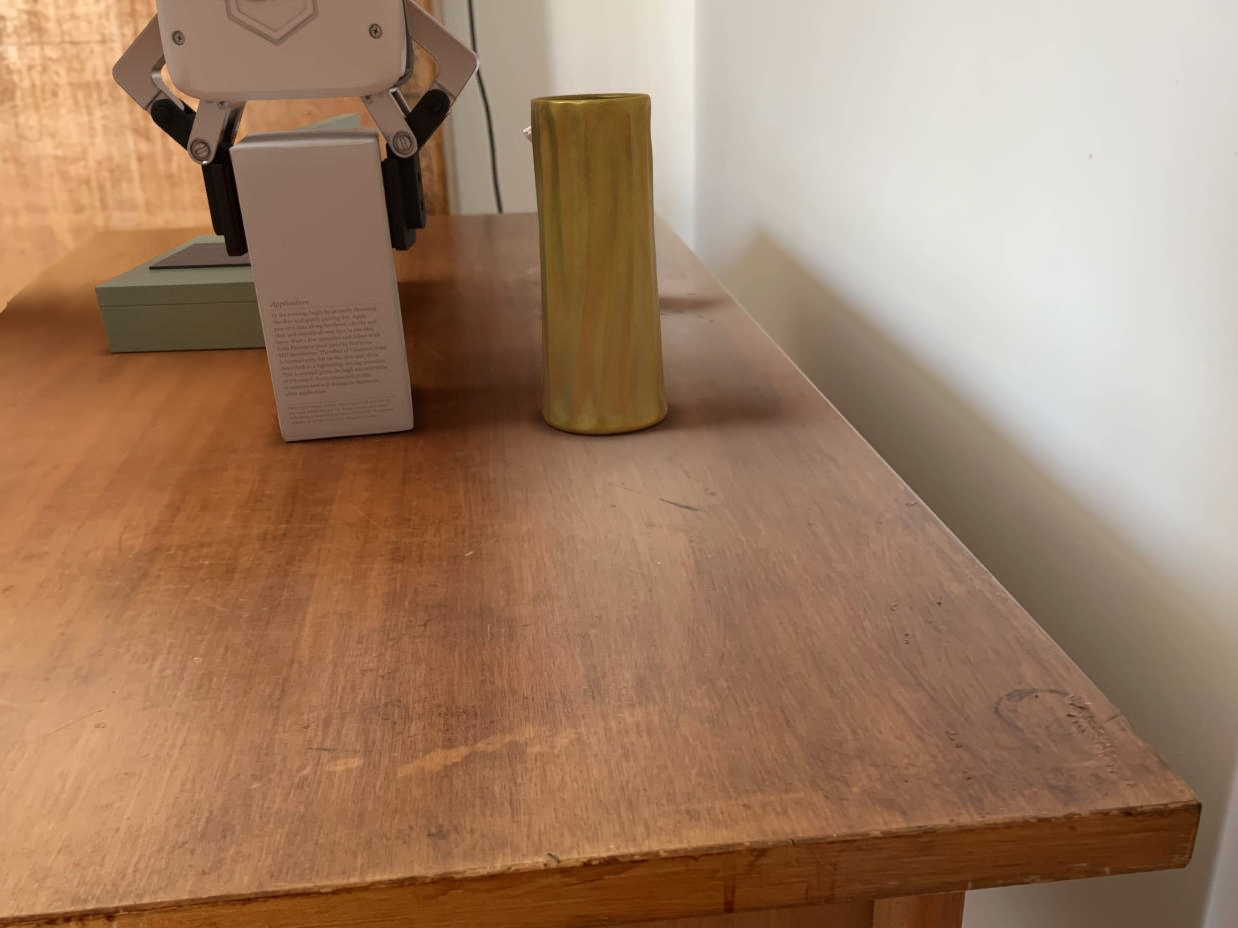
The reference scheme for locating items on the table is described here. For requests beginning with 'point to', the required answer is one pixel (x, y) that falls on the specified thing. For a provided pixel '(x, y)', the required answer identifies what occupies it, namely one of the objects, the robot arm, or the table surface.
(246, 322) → the green l-shaped stand
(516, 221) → the table surface
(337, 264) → the small box
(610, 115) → the vase
